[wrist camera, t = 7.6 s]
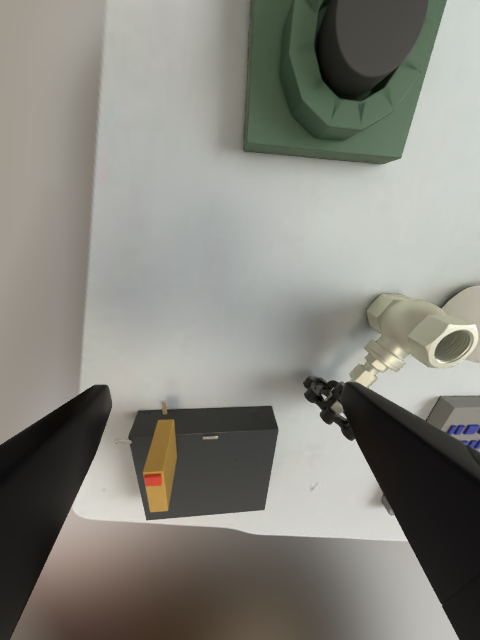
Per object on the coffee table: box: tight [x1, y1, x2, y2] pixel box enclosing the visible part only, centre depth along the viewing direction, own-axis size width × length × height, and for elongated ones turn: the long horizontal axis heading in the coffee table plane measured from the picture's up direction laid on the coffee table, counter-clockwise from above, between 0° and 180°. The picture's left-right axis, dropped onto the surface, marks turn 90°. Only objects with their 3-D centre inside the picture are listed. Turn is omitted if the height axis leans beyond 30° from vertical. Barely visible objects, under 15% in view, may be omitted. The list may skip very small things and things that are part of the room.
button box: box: [244, 0, 447, 164], centre depth 12 cm, size 10×8×4 cm
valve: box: [303, 294, 478, 441], centre depth 19 cm, size 7×7×12 cm
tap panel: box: [115, 401, 279, 520], centre depth 24 cm, size 15×18×3 cm
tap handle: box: [143, 419, 177, 512], centre depth 18 cm, size 5×1×5 cm, turn 176°
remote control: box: [382, 396, 480, 515], centre depth 30 cm, size 8×23×2 cm, turn 175°
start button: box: [318, 0, 429, 96], centre depth 10 cm, size 4×4×2 cm
